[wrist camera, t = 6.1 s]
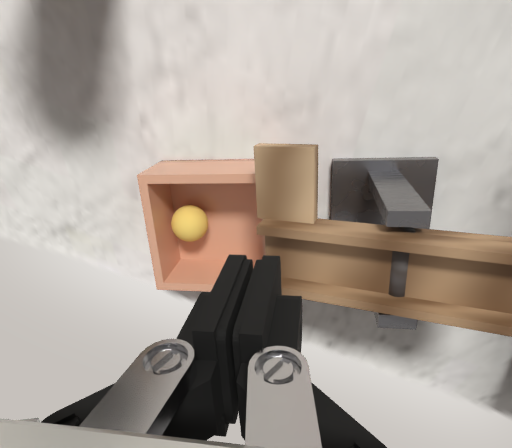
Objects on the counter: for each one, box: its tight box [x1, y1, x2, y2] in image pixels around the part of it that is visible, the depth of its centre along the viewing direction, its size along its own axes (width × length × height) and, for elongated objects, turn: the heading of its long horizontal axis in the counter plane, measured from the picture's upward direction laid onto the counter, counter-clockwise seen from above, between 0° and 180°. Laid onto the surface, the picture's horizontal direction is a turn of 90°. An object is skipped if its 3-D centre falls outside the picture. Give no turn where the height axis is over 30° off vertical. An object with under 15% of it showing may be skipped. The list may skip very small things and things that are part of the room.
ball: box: [171, 205, 208, 242], centre depth 33 cm, size 3×3×3 cm
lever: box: [254, 143, 512, 337], centre depth 22 cm, size 18×10×3 cm, turn 93°
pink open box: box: [137, 159, 266, 292], centre depth 32 cm, size 10×10×5 cm
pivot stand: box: [331, 157, 439, 329], centre depth 28 cm, size 8×10×10 cm
